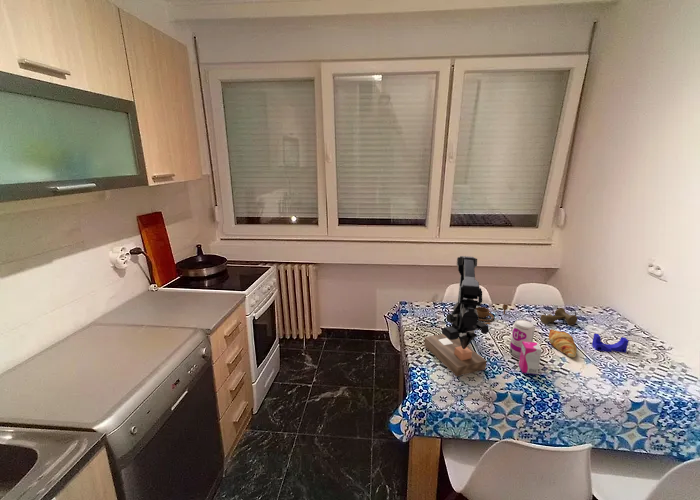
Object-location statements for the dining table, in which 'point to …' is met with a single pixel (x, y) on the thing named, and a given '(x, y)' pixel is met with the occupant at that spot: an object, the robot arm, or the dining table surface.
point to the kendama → (559, 317)
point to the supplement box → (530, 358)
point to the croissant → (563, 342)
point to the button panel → (450, 360)
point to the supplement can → (521, 336)
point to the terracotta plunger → (463, 353)
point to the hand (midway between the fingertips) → (463, 348)
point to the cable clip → (618, 346)
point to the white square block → (445, 341)
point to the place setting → (487, 313)
